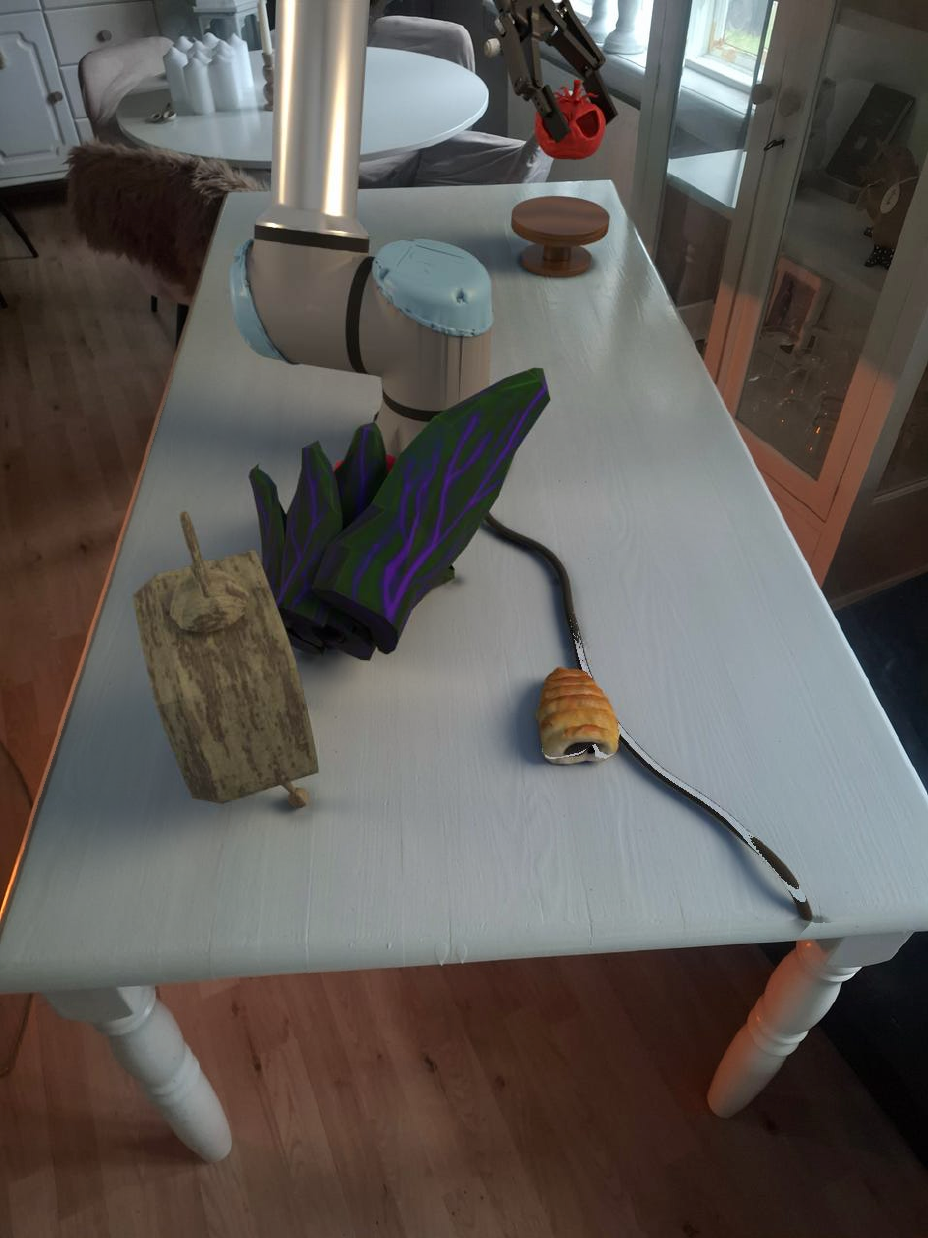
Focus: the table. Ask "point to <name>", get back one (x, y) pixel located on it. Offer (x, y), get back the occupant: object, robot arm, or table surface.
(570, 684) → the pastry
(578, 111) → the angry red tomato
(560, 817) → the table surface
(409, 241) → the robot arm
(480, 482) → the decorative plant
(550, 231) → the stand
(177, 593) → the brown boxy piece
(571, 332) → the table surface
